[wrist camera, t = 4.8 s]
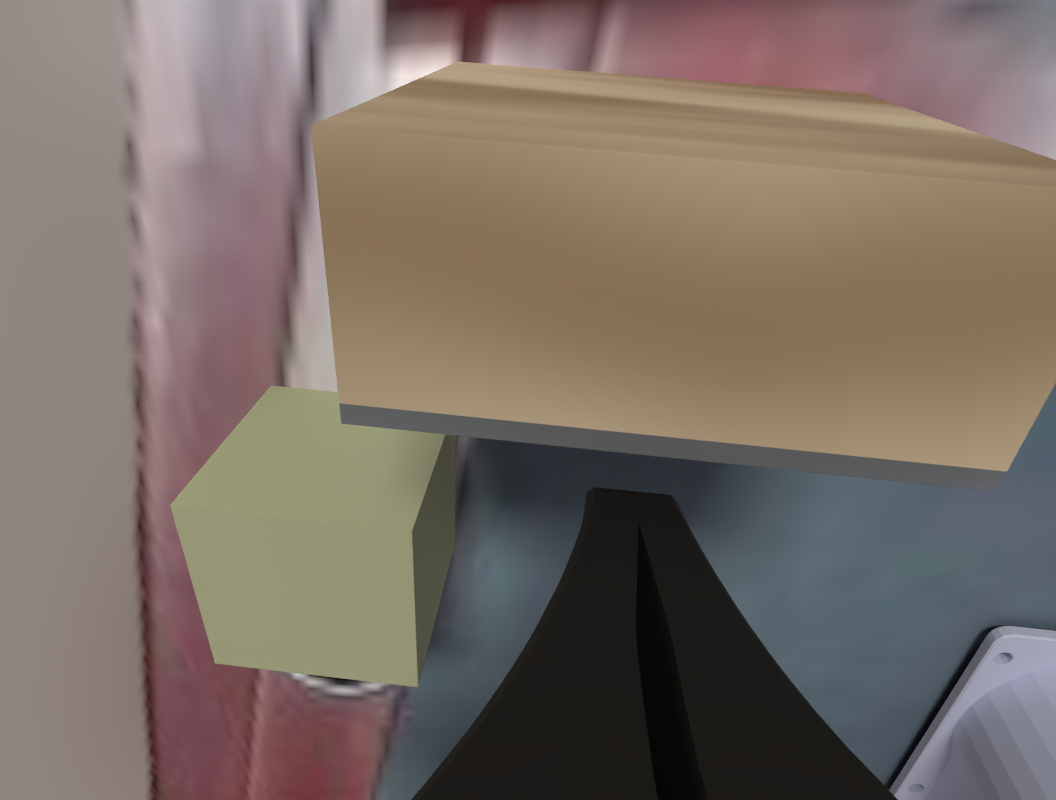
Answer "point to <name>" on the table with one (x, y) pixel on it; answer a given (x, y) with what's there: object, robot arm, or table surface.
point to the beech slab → (689, 272)
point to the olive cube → (320, 541)
